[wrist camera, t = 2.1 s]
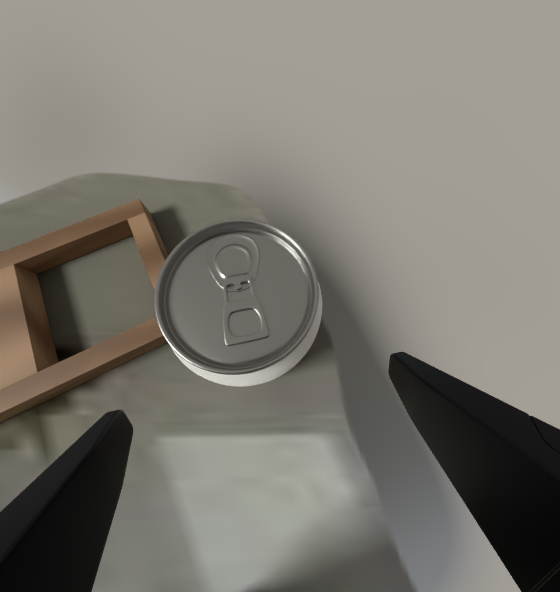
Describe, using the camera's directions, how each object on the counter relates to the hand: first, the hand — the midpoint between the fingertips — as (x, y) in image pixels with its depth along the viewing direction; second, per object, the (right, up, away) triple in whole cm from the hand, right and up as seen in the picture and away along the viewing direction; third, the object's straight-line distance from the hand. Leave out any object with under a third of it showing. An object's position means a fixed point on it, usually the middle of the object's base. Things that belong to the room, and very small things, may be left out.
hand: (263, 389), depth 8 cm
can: (-1, 0, +12) cm, 12 cm away
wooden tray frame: (-17, +2, +12) cm, 21 cm away
